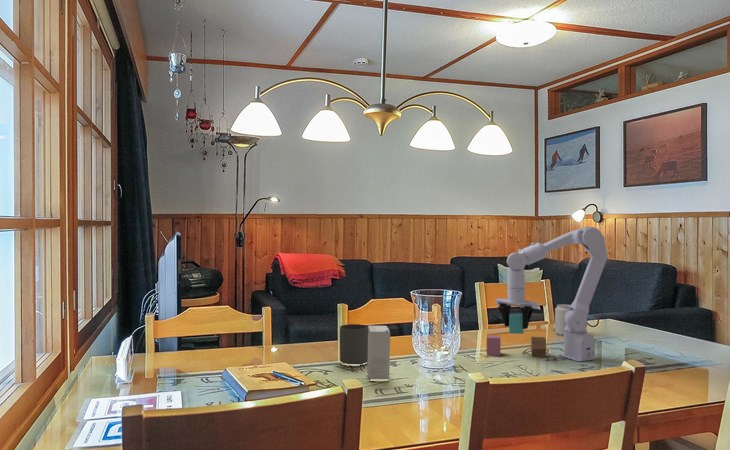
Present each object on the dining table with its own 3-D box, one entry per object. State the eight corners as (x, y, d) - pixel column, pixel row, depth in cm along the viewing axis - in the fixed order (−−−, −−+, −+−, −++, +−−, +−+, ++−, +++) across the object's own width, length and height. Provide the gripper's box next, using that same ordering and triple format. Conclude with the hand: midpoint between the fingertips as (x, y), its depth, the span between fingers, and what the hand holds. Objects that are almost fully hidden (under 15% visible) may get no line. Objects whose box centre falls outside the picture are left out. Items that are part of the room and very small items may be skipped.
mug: (370, 366, 177) (370, 328, 177) (342, 368, 176) (342, 329, 176) (362, 356, 191) (362, 321, 191) (335, 357, 189) (335, 322, 189)
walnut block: (546, 357, 188) (546, 339, 188) (532, 357, 189) (532, 339, 189) (544, 354, 193) (544, 337, 193) (531, 353, 194) (531, 336, 194)
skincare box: (366, 374, 168) (366, 325, 168) (386, 374, 168) (386, 324, 168) (369, 382, 159) (369, 330, 159) (390, 382, 160) (390, 330, 160)
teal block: (523, 333, 190) (523, 316, 190) (509, 333, 191) (509, 315, 190) (522, 331, 194) (522, 313, 194) (509, 330, 195) (509, 313, 195)
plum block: (500, 356, 191) (500, 338, 191) (486, 355, 192) (486, 337, 192) (500, 353, 195) (500, 335, 195) (487, 352, 196) (486, 335, 196)
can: (571, 333, 230) (571, 303, 230) (577, 336, 222) (577, 306, 222) (553, 332, 230) (553, 303, 230) (557, 336, 223) (557, 306, 223)
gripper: (541, 288, 190) (541, 328, 190) (502, 285, 200) (502, 323, 200) (532, 290, 185) (532, 331, 185) (492, 287, 195) (492, 326, 195)
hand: (516, 327), depth 192 cm, fingers closed on teal block, 6 cm apart
